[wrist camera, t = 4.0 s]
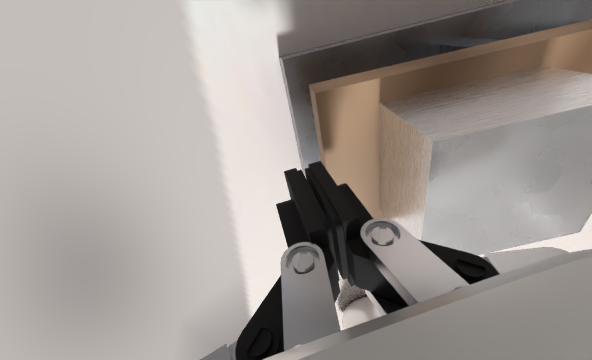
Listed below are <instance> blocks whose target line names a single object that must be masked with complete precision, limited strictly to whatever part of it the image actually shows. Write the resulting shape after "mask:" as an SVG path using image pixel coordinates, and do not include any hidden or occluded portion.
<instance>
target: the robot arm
mask: <svg viewBox="0 0 592 360" xmlns="http://www.w3.org/2000/svg"><path fill="white" fill-rule="evenodd" d="M284 174H285V178H286V181H287V185H288V189H289V193H290V197H291V200H288V201H285V202H282V203H278V204H276V206H277V209H278V213H279V217H280V220H281V224H282V228H283V231H284V235H285V238H286V242H287V246H288V249H287V250H286V251H285V252H284V254H283V256H282V258H281V276H280V277H279V279H278V280H277V282H276V283H275V285H274V286H273V287H272V289H271V290H270V292H269V293H268V295H267V296H266V298H265V299H264V301H263V302H262V303H261V305H260V306H259V308H258V309H257V311H256V312H255V314H254V315H253V317H252V318H251V319H250V321H249V322H248V324H247V326H246V327H245V328H244V330H243V331H242V333H241V335H240V337H239V338H238V340H237V341H236V342H234V343H233V344H231V345H230V346H228V345H227V344H225V345H224V346H222V347H220V348H219V349H217V350H215V351H214V352H212V353H211V354H209V355H207V356H206V357H204V358H202V359H201V360H592V249H590V250H582V251H577V252H571V253H569V252H567V251H565V250H562V249H557V248H553V247H541V248H532V249H523V250H514V251H505V252H496V253H487V254H484V257H480V256H477V255H474V254H472V253H468V252H464V251H460V250H456V249H453V248H449V247H445V246H441V245H437V244H433V243H429V242H426V241H422V240H418V239H416V238H415V237H414V236H413V235H412V234H410V233H409V232H408V231H407V230H406V229H405V228H404V227H402V226H401V225H400V224H399V223H397V222H395V221H393V220H390V219H386V218H375V219H373V217H372V216H371V215H370V213H369V212H368V211H367V209H366V208H365V207H364V205H363V204H362V203H361V201H360V200H359V199H358V198H357V196H356V195H355V194H354V192H353V191H352V190H351V188H350V187H349V186H348V185H347V184H346V183H344V184H341V185H337V184H336V183H335V181H334V180H333V178H332V177H331V175H330V174H329V172H328V171H327V170H326V168H325V167H324V165H323V164H322V162H321V161H318V162H315V163H311V164H308V168H306V169H305V174H306V178H305V176H304V174H303V172H302V170H299V171H297V169H296V168H294V169H291V170H287V171H284ZM337 268H338V269H337ZM338 270H339V272H340V274H341V277H342V278H343V279H346V278H348V281H349V283H350V285H351V286H353V285H356V286H357V287H360V288H362V289H365V292H366V294H367V296H368V298H369V299H370V300H371V302H372V303H373V305H374V306H375V307H376V309H377V310H378V312H379V313H380V314H381V317H378V318H375V319H372V320H370V321H367V322H364V323H361V324H359V325H356V326H353V327H350V328H347V329H345V330H342V331H341V330H340V326H339V321H338V317H337V312H336V308H335V301H336V299H337V297H338V295H339V293H340V289H339V283H338V281H339V275H338Z"/></svg>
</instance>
